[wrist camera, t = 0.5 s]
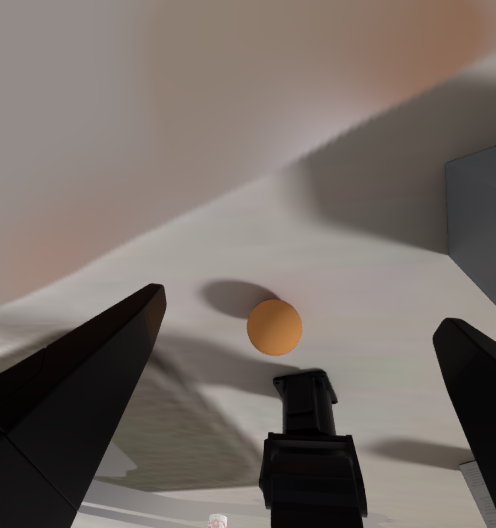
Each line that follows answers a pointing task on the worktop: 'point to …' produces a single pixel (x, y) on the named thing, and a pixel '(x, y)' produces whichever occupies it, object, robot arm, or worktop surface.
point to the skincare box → (479, 492)
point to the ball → (274, 327)
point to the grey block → (473, 217)
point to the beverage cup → (217, 521)
